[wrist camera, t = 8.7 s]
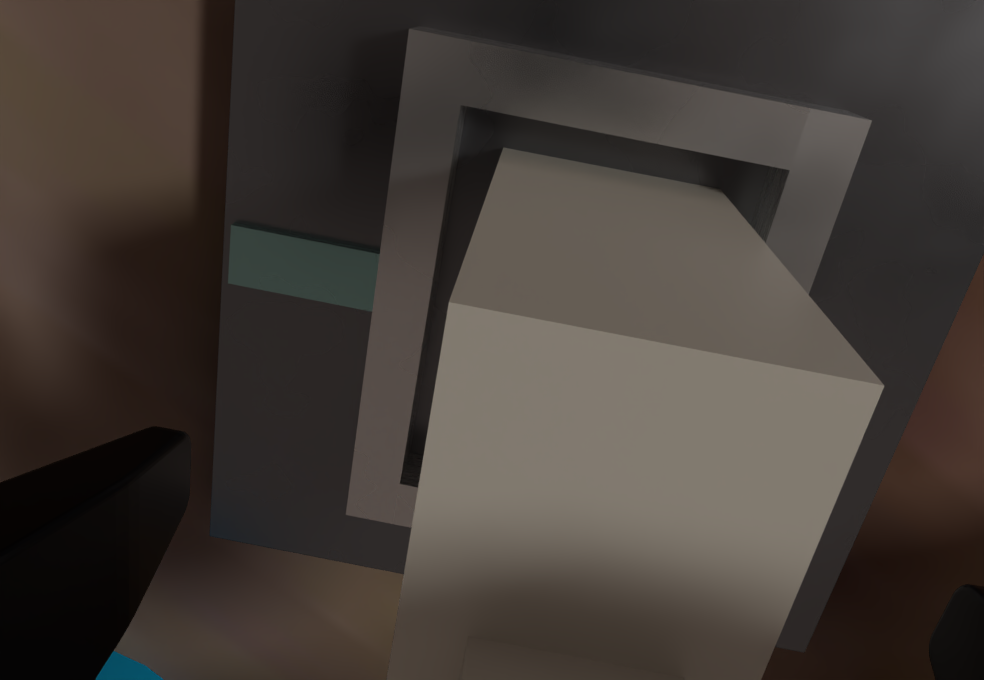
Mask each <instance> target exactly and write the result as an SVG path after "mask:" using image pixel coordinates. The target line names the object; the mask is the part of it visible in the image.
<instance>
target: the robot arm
mask: <svg viewBox="0 0 984 680" xmlns="http://www.w3.org/2000/svg"><path fill="white" fill-rule="evenodd" d="M190 466H191V441H190V437H189V436H188V434H187V433H185V432H182V431H177V430H172V429H167V428H162V427H157V426H155V427H149V428H146V429H144V430H141V431H138V432H135V433H133V434H130V435H127V436H125V437H122V438H119V439H117V440H114V441H111V442H108V443H106V444H103V445H100V446H98V447H95V448H92V449H90V450H87V451H84V452H81V453H79V454H76V455H73V456H71V457H68V458H65V459H63V460H60V461H57V462H54V463H52V464H49V465H46V466H44V467H41V468H38V469H36V470H33V471H30V472H27V473H25V474H22V475H19V476H17V477H14V478H11V479H8V480H6V481H3V482H0V680H95V679H96V677H97V676H98V674H99V673H100V671H101V670H102V668H103V666H104V665H105V663H106V662H107V660H108V659H109V657H110V655H111V654H112V652H113V651H114V649H115V648H116V646H117V645H118V643H119V641H120V640H121V638H122V636H123V635H124V633H125V631H126V630H127V628H128V626H129V624H130V623H131V621H132V619H133V617H134V615H135V613H136V611H137V609H138V607H139V605H140V603H141V601H142V599H143V597H144V595H145V593H146V591H147V589H148V587H149V585H150V583H151V580H152V578H153V576H154V574H155V572H156V570H157V568H158V566H159V564H160V562H161V560H162V558H163V556H164V554H165V552H166V550H167V548H168V546H169V544H170V542H171V539H172V537H173V535H174V533H175V531H176V529H177V527H178V525H179V523H180V521H181V519H182V517H183V515H184V512H185V510H186V507H187V504H188V500H189V493H190ZM929 656H930V661H931V665H932V669H933V672H934V676H935V680H984V587H981V586H976V585H970V584H966V585H963V586H960V587H959V588H958V589H957V590H956V591H955V592H954V594H953V596H952V597H951V599H950V601H949V603H948V605H947V607H946V609H945V611H944V613H943V615H942V616H941V618H940V620H939V622H938V624H937V626H936V628H935V630H934V632H933V633H932V636H931V639H930V643H929Z"/></svg>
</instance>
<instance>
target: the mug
mask: <svg viewBox="0 0 984 680" xmlns="http://www.w3.org/2000/svg"><path fill="white" fill-rule="evenodd" d="M95 680H163V679H162V678H161V677H160V676H158V675H157V674H156V673H154V672H153V671H152V670H150V669H149V668H148V667H147V666H145V665H143V664H141V663H138V662H136V661H134V660H132V659H130V658H128V657H125V656H123V655H121V654H119V653H117V652H115V651H113V652H112V654H111V655H110V657H109V659H108V660H107V662H106V663H105V665H104V666H103V668H102V670H101V671H100V673H99V674H98V676H97V677H96V679H95Z"/></svg>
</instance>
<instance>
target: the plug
mask: <svg viewBox="0 0 984 680" xmlns="http://www.w3.org/2000/svg"><path fill="white" fill-rule="evenodd" d="M883 388H884V384H883V383H882V382H881V381H880V380H879V378H878V377H877V376H876V375H875V374H874V373H873V371H872V370H871V369H870V368H869V367H868V365H867V364H866V363H865V362H864V361H863V359H862V358H861V357H860V356H859V355H858V353H857V352H856V351H855V350H854V349H853V347H852V346H851V345H850V344H849V343H848V341H847V340H846V339H845V338H844V337H843V335H842V334H841V333H840V332H839V331H838V329H837V328H836V327H835V326H834V325H833V323H832V322H831V321H830V320H829V319H828V318H827V316H826V315H825V314H824V313H823V312H822V310H821V309H820V308H819V307H818V306H817V304H816V303H815V302H814V301H813V300H812V298H811V297H810V296H809V295H808V294H807V292H806V291H805V290H804V289H803V288H802V286H801V285H800V284H799V283H798V282H797V280H796V279H795V278H794V277H793V276H792V274H791V273H790V272H789V271H788V270H787V268H786V267H785V266H784V265H783V264H782V262H781V261H780V260H779V259H778V258H777V257H776V255H775V254H774V253H773V252H772V251H771V249H770V248H769V247H768V246H767V245H766V243H765V242H764V241H763V240H762V239H761V237H760V236H759V235H758V234H757V233H756V231H755V230H754V229H753V228H752V227H751V225H750V224H749V223H748V222H747V221H746V219H745V218H744V217H743V216H742V215H741V213H740V212H739V211H738V210H737V209H736V207H735V206H734V205H733V204H732V203H731V202H730V200H729V199H728V198H727V197H726V196H725V194H724V193H723V192H722V191H721V190H720V189H717V188H712V187H706V186H701V185H696V184H691V183H686V182H680V181H675V180H670V179H665V178H660V177H654V176H649V175H644V174H639V173H634V172H628V171H623V170H618V169H613V168H608V167H602V166H597V165H592V164H587V163H582V162H576V161H571V160H566V159H561V158H556V157H550V156H545V155H540V154H535V153H530V152H524V151H519V150H514V149H509V148H504V147H503V150H502V153H501V156H500V159H499V161H498V164H497V167H496V170H495V173H494V176H493V178H492V181H491V184H490V187H489V190H488V193H487V195H486V198H485V201H484V204H483V207H482V210H481V212H480V215H479V218H478V221H477V224H476V227H475V229H474V232H473V235H472V238H471V241H470V244H469V246H468V249H467V252H466V255H465V258H464V261H463V263H462V266H461V269H460V272H459V275H458V278H457V280H456V283H455V286H454V289H453V292H452V295H451V297H450V300H449V304H448V310H447V316H446V323H445V329H444V335H443V341H442V347H441V353H440V359H439V365H438V371H437V377H436V383H435V389H434V395H433V401H432V407H431V413H430V419H429V425H428V431H427V437H426V443H425V450H424V456H423V462H422V468H421V474H420V480H419V486H418V492H417V498H416V504H415V510H414V516H413V522H412V528H411V534H410V540H409V546H408V552H407V558H406V564H405V571H404V577H403V583H402V589H401V595H400V601H399V607H398V613H397V619H396V625H395V631H394V637H393V643H392V649H391V655H390V661H389V667H388V673H387V679H386V680H761V679H762V676H763V674H764V672H765V669H766V667H767V664H768V662H769V660H770V657H771V655H772V652H773V650H774V648H775V645H776V643H777V641H778V638H779V636H780V633H781V631H782V629H783V626H784V624H785V622H786V619H787V617H788V614H789V612H790V610H791V607H792V605H793V602H794V600H795V598H796V595H797V593H798V591H799V588H800V586H801V583H802V581H803V579H804V576H805V574H806V572H807V569H808V567H809V564H810V562H811V560H812V557H813V555H814V552H815V550H816V548H817V545H818V543H819V541H820V538H821V536H822V533H823V531H824V529H825V526H826V524H827V522H828V519H829V517H830V514H831V512H832V510H833V507H834V505H835V502H836V500H837V498H838V495H839V493H840V491H841V488H842V486H843V483H844V481H845V479H846V476H847V474H848V472H849V469H850V467H851V464H852V462H853V460H854V457H855V455H856V452H857V450H858V448H859V445H860V443H861V441H862V438H863V436H864V433H865V431H866V429H867V426H868V424H869V422H870V419H871V417H872V414H873V412H874V410H875V407H876V405H877V403H878V400H879V398H880V395H881V393H882V391H883Z"/></svg>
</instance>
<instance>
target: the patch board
mask: <svg viewBox="0 0 984 680" xmlns="http://www.w3.org/2000/svg"><path fill="white" fill-rule="evenodd" d="M503 147H504V148H509V149H514V150H519V151H524V152H530V153H535V154H540V155H545V156H550V157H556V158H561V159H566V160H571V161H576V162H582V163H587V164H592V165H597V166H602V167H608V168H613V169H618V170H623V171H628V172H634V173H639V174H644V175H649V176H654V177H660V178H665V179H670V180H675V181H680V182H686V183H691V184H696V185H701V186H706V187H712V188H717V189H720V190H721V191H722V192H723V193H724V194H725V196H726V197H727V198H728V199H729V200H730V202H731V203H732V204H733V205H734V206H735V207H736V209H737V210H738V211H739V212H740V213H741V215H742V216H743V217H744V218H745V219H746V221H747V222H748V223H749V224H750V225H751V227H752V228H753V229H754V230H755V231H756V233H757V234H758V235H759V236H760V237H761V239H762V240H763V241H764V242H765V243H766V245H767V246H768V247H769V248H770V249H771V251H772V252H773V253H774V254H775V255H776V257H777V258H778V259H779V260H780V261H781V262H782V264H783V265H784V266H785V267H786V268H787V270H788V271H789V272H790V273H791V274H792V276H793V277H794V278H795V279H796V280H797V282H798V283H799V284H800V285H801V286H802V288H803V289H804V290H805V291H806V292H807V294H808V295H809V296H810V297H811V298H812V300H813V301H814V302H815V303H816V304H817V306H818V307H819V308H820V309H821V310H822V312H823V313H824V314H825V315H826V316H827V318H828V319H829V320H830V321H831V322H832V323H833V325H834V326H835V327H836V328H837V329H838V331H839V332H840V333H841V334H842V335H843V337H844V338H845V339H846V340H847V341H848V343H849V344H850V345H851V346H852V347H853V349H854V350H855V351H856V352H857V353H858V355H859V356H860V357H861V358H862V359H863V361H864V362H865V363H866V364H867V365H868V367H869V368H870V369H871V370H872V371H873V373H874V374H875V375H876V376H877V377H878V378H879V380H880V381H881V382H882V383H883V384H884V388H883V391H882V393H881V395H880V398H879V400H878V403H877V405H876V407H875V410H874V412H873V414H872V417H871V419H870V422H869V424H868V426H867V429H866V431H865V433H864V436H863V438H862V441H861V443H860V445H859V448H858V450H857V452H856V455H855V457H854V460H853V462H852V464H851V467H850V469H849V472H848V474H847V476H846V479H845V481H844V483H843V486H842V488H841V491H840V493H839V495H838V498H837V500H836V502H835V505H834V507H833V510H832V512H831V514H830V517H829V519H828V522H827V524H826V526H825V529H824V531H823V533H822V536H821V538H820V541H819V543H818V545H817V548H816V550H815V552H814V555H813V557H812V560H811V562H810V564H809V567H808V569H807V572H806V574H805V576H804V579H803V581H802V583H801V586H800V588H799V591H798V593H797V595H796V598H795V600H794V602H793V605H792V607H791V610H790V612H789V614H788V617H787V619H786V622H785V624H784V626H783V629H782V631H781V633H780V636H779V638H778V641H777V643H776V645H775V647H778V648H783V649H788V650H793V651H799V652H804V653H805V650H806V648H807V646H808V644H809V641H810V639H811V637H812V635H813V633H814V630H815V628H816V626H817V624H818V621H819V619H820V617H821V615H822V612H823V610H824V608H825V606H826V604H827V601H828V599H829V597H830V595H831V592H832V590H833V588H834V586H835V584H836V581H837V579H838V577H839V575H840V572H841V570H842V568H843V566H844V563H845V561H846V559H847V557H848V555H849V552H850V550H851V548H852V546H853V543H854V541H855V539H856V537H857V535H858V532H859V530H860V528H861V526H862V523H863V521H864V519H865V517H866V514H867V512H868V510H869V508H870V506H871V503H872V501H873V499H874V497H875V494H876V492H877V490H878V488H879V486H880V483H881V481H882V479H883V477H884V474H885V472H886V470H887V468H888V465H889V463H890V461H891V459H892V457H893V454H894V452H895V450H896V448H897V445H898V443H899V441H900V439H901V437H902V434H903V432H904V430H905V428H906V425H907V423H908V421H909V419H910V416H911V414H912V412H913V410H914V408H915V405H916V403H917V401H918V399H919V396H920V394H921V392H922V390H923V388H924V385H925V383H926V381H927V379H928V376H929V374H930V372H931V370H932V367H933V365H934V363H935V361H936V359H937V356H938V354H939V352H940V350H941V347H942V345H943V343H944V341H945V339H946V336H947V334H948V332H949V330H950V327H951V325H952V323H953V321H954V318H955V316H956V314H957V312H958V310H959V307H960V305H961V303H962V301H963V298H964V296H965V294H966V292H967V290H968V287H969V285H970V283H971V281H972V278H973V276H974V274H975V272H976V269H977V267H978V265H979V263H980V261H981V258H982V256H983V254H984V0H235V14H234V35H233V56H232V77H231V98H230V119H229V140H228V161H227V182H226V203H225V224H224V245H223V266H222V287H221V308H220V329H219V350H218V371H217V392H216V413H215V434H214V455H213V476H212V497H211V518H210V536H212V537H217V538H222V539H227V540H232V541H237V542H242V543H248V544H253V545H258V546H263V547H268V548H273V549H278V550H283V551H288V552H293V553H299V554H304V555H309V556H314V557H319V558H324V559H329V560H334V561H339V562H344V563H350V564H355V565H360V566H365V567H370V568H375V569H380V570H385V571H390V572H395V573H401V574H404V571H405V564H406V558H407V552H408V546H409V540H410V534H411V528H412V522H413V516H414V510H415V504H416V498H417V492H418V486H419V480H420V474H421V468H422V462H423V456H424V450H425V443H426V437H427V431H428V425H429V419H430V413H431V407H432V401H433V395H434V389H435V383H436V377H437V371H438V365H439V359H440V353H441V347H442V341H443V335H444V329H445V323H446V316H447V310H448V304H449V300H450V297H451V295H452V292H453V289H454V286H455V283H456V280H457V278H458V275H459V272H460V269H461V266H462V263H463V261H464V258H465V255H466V252H467V249H468V246H469V244H470V241H471V238H472V235H473V232H474V229H475V227H476V224H477V221H478V218H479V215H480V212H481V210H482V207H483V204H484V201H485V198H486V195H487V193H488V190H489V187H490V184H491V181H492V178H493V176H494V173H495V170H496V167H497V164H498V161H499V159H500V156H501V153H502V150H503Z"/></svg>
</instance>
